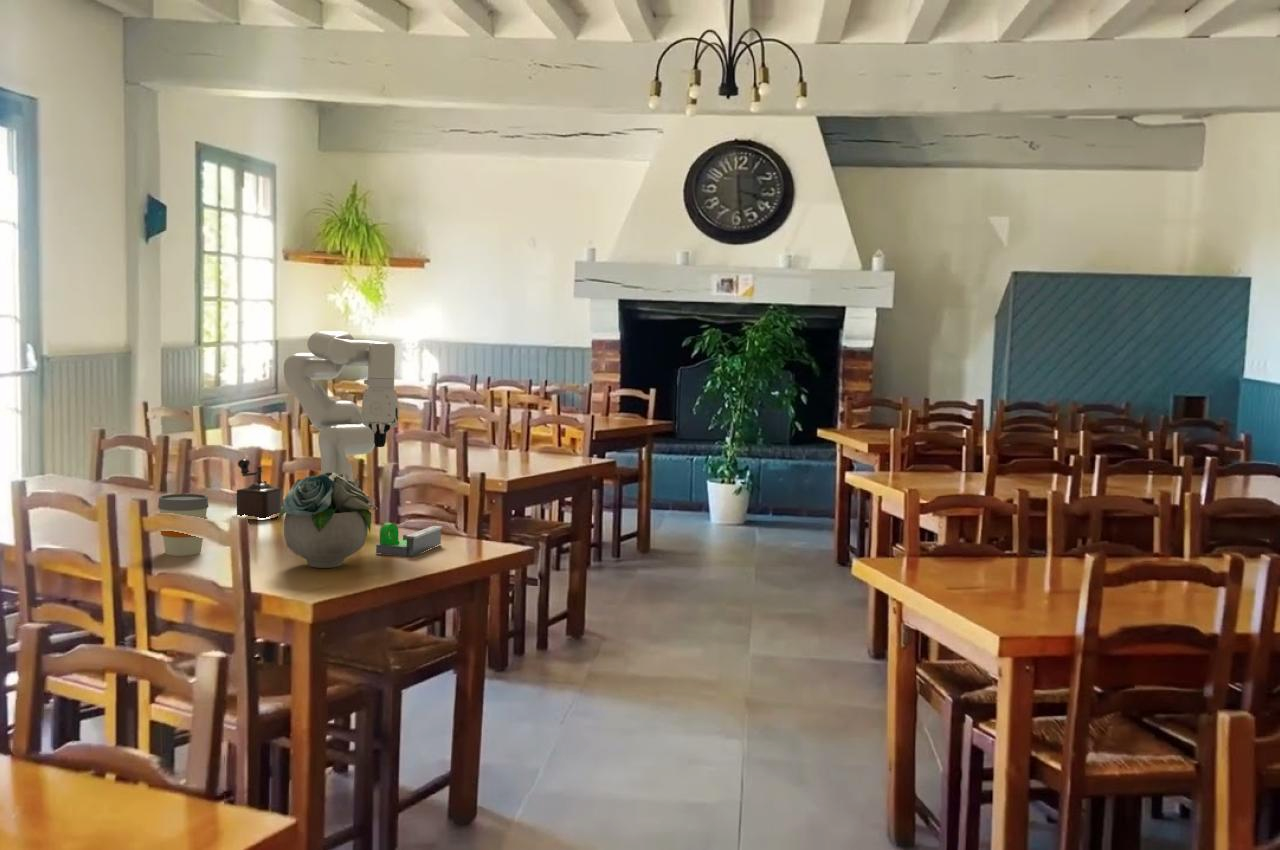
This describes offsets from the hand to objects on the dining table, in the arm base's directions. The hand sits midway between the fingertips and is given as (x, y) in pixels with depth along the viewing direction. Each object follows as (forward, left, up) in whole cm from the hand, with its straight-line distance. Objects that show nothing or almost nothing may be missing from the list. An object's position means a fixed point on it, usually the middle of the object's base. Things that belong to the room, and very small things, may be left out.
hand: (379, 446), depth 341 cm
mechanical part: (+14, -14, -28) cm, 34 cm away
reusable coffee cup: (-36, -42, -27) cm, 62 cm away
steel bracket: (+16, -13, -27) cm, 34 cm away
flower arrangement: (+6, -42, -27) cm, 50 cm away
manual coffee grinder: (-52, +17, -27) cm, 61 cm away
